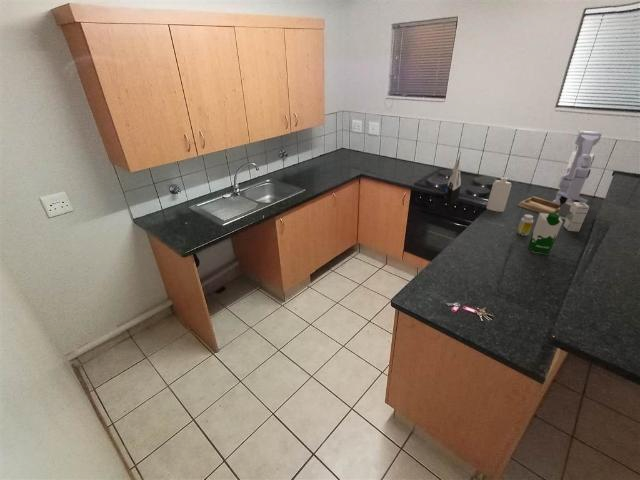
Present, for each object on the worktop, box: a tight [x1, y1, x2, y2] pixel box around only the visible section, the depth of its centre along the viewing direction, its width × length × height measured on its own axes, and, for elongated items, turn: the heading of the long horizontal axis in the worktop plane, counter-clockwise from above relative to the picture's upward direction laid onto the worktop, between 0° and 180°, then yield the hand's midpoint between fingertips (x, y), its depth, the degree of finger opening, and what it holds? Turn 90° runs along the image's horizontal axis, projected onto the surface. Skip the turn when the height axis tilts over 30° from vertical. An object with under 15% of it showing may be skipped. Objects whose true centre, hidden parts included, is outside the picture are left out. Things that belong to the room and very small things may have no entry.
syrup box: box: [562, 201, 590, 232], centre depth 168 cm, size 6×6×14 cm
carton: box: [518, 196, 560, 214], centre depth 194 cm, size 17×18×3 cm
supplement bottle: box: [516, 214, 534, 236], centre depth 166 cm, size 6×6×10 cm
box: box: [557, 202, 572, 217], centre depth 183 cm, size 7×4×6 cm, turn 124°
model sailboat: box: [443, 151, 462, 205], centre depth 203 cm, size 10×24×30 cm, turn 157°
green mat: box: [555, 212, 567, 221], centre depth 185 cm, size 12×7×1 cm, turn 124°
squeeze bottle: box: [486, 176, 512, 213], centre depth 189 cm, size 10×20×5 cm
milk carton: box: [528, 213, 564, 255], centre depth 149 cm, size 9×9×20 cm
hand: (565, 210), depth 184 cm, fingers closed on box, 4 cm apart
